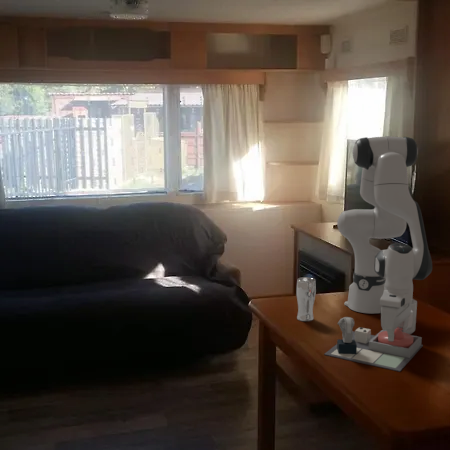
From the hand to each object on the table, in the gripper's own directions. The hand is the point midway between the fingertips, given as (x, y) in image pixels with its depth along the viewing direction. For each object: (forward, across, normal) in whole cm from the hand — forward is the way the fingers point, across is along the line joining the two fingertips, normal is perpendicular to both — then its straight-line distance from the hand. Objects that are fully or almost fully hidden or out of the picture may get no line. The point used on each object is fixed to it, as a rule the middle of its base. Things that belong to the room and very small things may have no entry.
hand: (395, 336), depth 203 cm
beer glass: (+4, -11, -37) cm, 39 cm away
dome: (+3, 0, 0) cm, 3 cm away
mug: (+4, -16, -2) cm, 17 cm away
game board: (+4, +5, -5) cm, 8 cm away
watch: (+4, +12, -12) cm, 17 cm away
